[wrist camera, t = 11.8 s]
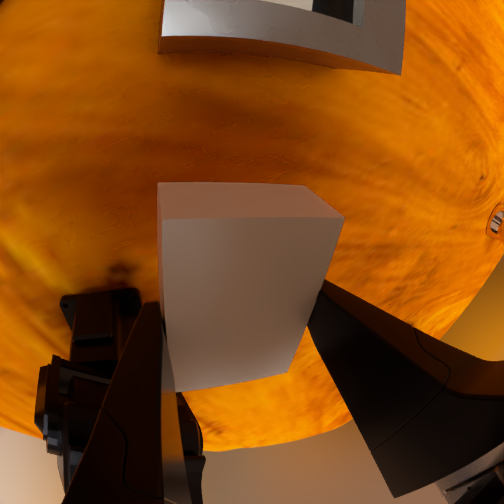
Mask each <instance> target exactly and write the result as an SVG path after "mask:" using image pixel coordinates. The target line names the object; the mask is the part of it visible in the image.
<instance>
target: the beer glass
mask: <svg viewBox="0 0 504 504" xmlns="http://www.w3.org/2000/svg"><path fill="white" fill-rule="evenodd" d="M486 232H487V234H488V235H489V236H491V237H493V238H495V239H497V240H499V241H500V242H502V243H503V244H504V205H503V204H501V203H500V204H498V205H497V206H496V207H495V209H494V210H493V212H492V214H491V216H490V218H489V221H488V224H487V229H486Z"/></svg>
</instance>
